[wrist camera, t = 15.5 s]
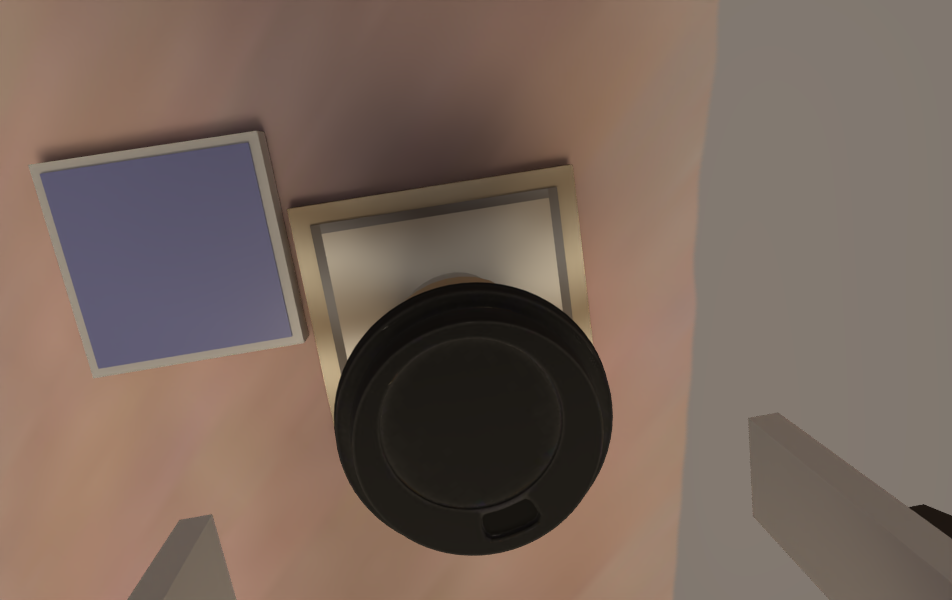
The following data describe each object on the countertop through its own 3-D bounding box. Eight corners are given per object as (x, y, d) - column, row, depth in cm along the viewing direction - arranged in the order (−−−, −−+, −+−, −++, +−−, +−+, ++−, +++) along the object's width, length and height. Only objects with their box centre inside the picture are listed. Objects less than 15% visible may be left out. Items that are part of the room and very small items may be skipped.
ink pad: (46, 165, 32) (25, 164, 30) (264, 131, 32) (255, 130, 31) (107, 369, 34) (91, 379, 32) (309, 335, 35) (303, 344, 33)
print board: (290, 207, 33) (286, 209, 32) (568, 164, 34) (573, 164, 33) (346, 464, 37) (343, 474, 35) (597, 419, 37) (603, 428, 36)
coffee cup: (461, 437, 35) (490, 629, 21) (330, 332, 34) (260, 462, 19) (575, 314, 35) (689, 425, 20) (447, 198, 33) (468, 228, 18)
